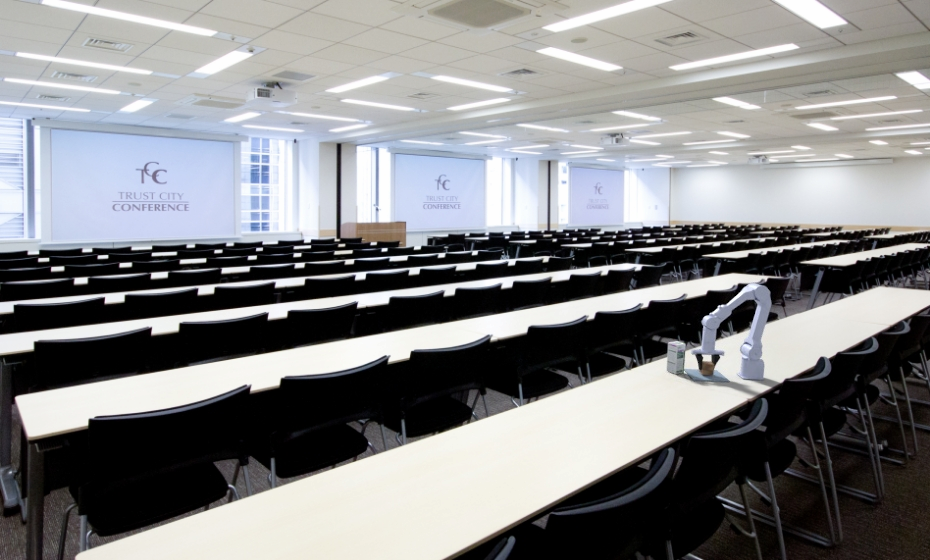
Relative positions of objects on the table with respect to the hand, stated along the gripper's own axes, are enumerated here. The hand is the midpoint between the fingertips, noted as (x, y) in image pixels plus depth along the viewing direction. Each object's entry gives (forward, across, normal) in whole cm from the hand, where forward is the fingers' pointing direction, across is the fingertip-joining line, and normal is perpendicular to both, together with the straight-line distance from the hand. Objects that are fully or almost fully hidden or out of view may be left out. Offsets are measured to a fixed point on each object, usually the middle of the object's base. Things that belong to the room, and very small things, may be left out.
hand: (706, 369), depth 274 cm
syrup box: (+3, -13, +4) cm, 14 cm away
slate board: (+3, 0, 0) cm, 3 cm away
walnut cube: (+2, 0, 0) cm, 2 cm away
